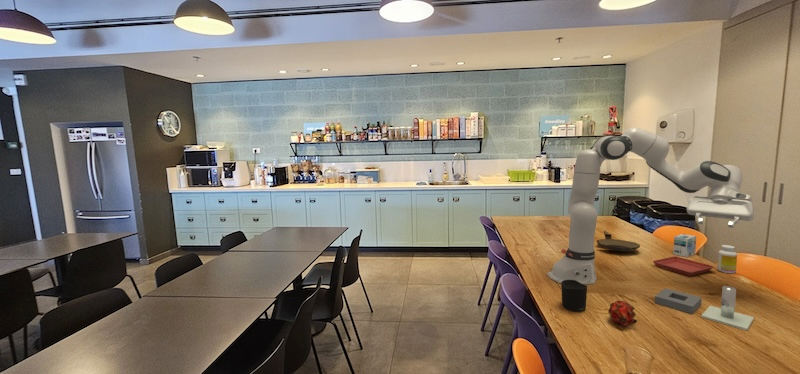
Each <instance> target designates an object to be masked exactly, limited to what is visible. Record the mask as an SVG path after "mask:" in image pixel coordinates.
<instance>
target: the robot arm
mask: <svg viewBox="0 0 800 374" xmlns="http://www.w3.org/2000/svg"><path fill="white" fill-rule="evenodd" d="M669 152H670V144H669V142H668V140H667V139H665V138H663V136H660V135H658V134H656V133H653V132H651V131H648V130H646V129H642V128H639V127H635V126H633V127H629V128H627V129H626V130H625V131H624V132H623V133H622V134H621V135H606V136H605V135H604V136H602V137H599V138H598V139H596V140H595V142H594V143H593V144H592V146H591V147H590V149H589V148H588V149H584V150H583V149H582V150H581V151H579V152H578V154H577V156H576V160H575V163H574V169H573V175H572V186H571V191H570V195H569V199H568V206H567V212H568V215H569V216H570V224H569V233H568V248H567V250H566V249H565V248H562V249H561V250H560V252H561V253H562V254H564V256H563V257H561V258H560V259H558V260H557V261H555V262H554V263H553V264H552V265H553V266H552V270H551V271H547V277H548V278H549V279H551V280H552V281H553V282H556V283H559V284H561V282H562V281H564V280H576V281H578V282H580V283H581V284H583V285H595V282H596V281H597V279H598V278H597V274H596V269H595V258H596V252H595V234H596V228H597V223H598V222H597V220H598V210H597V209H596V208H595V206H594V202H595V200H596V199H595V198H596V195H597V193H598V189H599V182H600V175H601V167H602V164H603V163H604V161H606V160H608V161H609V160H610V161H616V160H620V159H621V158H623V157H625V155H627V154H628V153H634V155H635V154H636V155H637V156H638V157H640V158H643V159H644V160H645V163H646V164H647V166H648V167H649V168H650V169H652V170H653V171H655V172H656V173H657V174H659V175H661V176H662V177H664V178H665V179H667V181H670V182H671V183H672V184H674V185H675V186H676V187H677V188H678V189H679V190H681V191H682V192H683V193H688V194H695V193H697V192H699V191H701V190H702V189H704V188H706V187H709V188H710V190H709V194H708V196H694V197H693V196H692V197H690V198H689V200H688V204H687V206H686V212H687V214H688V215H690V216H696V219H697V221H696V222H697V224H700V225H703V223H704V219H703V218H702V217H705V218H706V217H707V218H717V219H724V220H725V219H726V220H732V221H728V225H727V226H728V228H730V229H731V228H732V229H733V228H734V227H735V226H736V224H738V223H740V221H745V222H750V221H753V220H754V218H755V217H754V215H755V212H754V206H753V200H752V196H751V195H750V194H746V193H742V192H739V190H740V189H741V186H742V182H743V172H742V170H741V169H740V168H739V167H738V166H735V165H733V164H720V163H718V162H716V161H712V160H705V161H702V162H700V163H699V164H696V165H695V166H693V167H692V168H690V169H687V170H683V171H682V170H679V169H678V168H676V167H675V166H674V165H672V164H670V163H669V162H667V160H666V158H667V157H668V154H669Z"/></svg>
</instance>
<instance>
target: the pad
mask: <svg viewBox="0 0 800 374" xmlns="http://www.w3.org/2000/svg"><path fill="white" fill-rule="evenodd" d="M720 314H721V307H718V306H714V305H709V306H708V308H707V309H705V311H704V312H703V313H702V314H701V318H702V319H706V320H710V321H712V322H716V323H719V324H723V325H726V326H729V327H733V328H737V329H740V330H743V331H748V330H749V328H750V327H751V325H752V322H753V321H754V319H755V317H754V316H751V315H748V314H744V313H740V312H737V311H735V312H734V318H733V319H730V318H725V317H723V316H721V315H720Z"/></svg>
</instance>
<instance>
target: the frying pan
mask: <svg viewBox="0 0 800 374" xmlns="http://www.w3.org/2000/svg"><path fill="white" fill-rule="evenodd" d="M603 234H604V238H601V239H597V240H596V244H597V246H600V247H602V248H604V249H607V250H609V251H612V252H630V251H635V250H637V249H639V248H640V247H641V244H640V243H637V242H634V241H630V240H629V241H628V240H625V239H624V240H623V239H616V238H615V239H614V238H612V234H611V233H609V232H608V231H607V230H603Z"/></svg>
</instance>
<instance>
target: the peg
mask: <svg viewBox="0 0 800 374" xmlns="http://www.w3.org/2000/svg"><path fill="white" fill-rule="evenodd" d="M721 290H722V291H721V303H720V308H721V314H720V315H721V316H723V317H725V318H730V319H733V318H734V312H736V311H735V309H736V297H737V288H735V287H734V286H729V285H723V286H722V289H721Z"/></svg>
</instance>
